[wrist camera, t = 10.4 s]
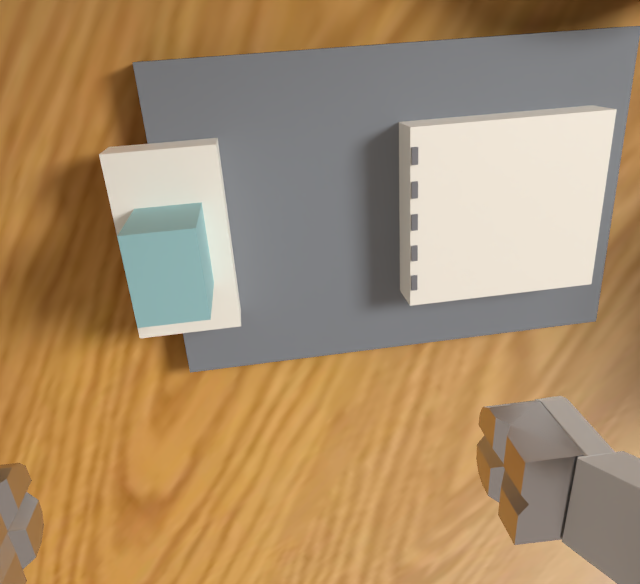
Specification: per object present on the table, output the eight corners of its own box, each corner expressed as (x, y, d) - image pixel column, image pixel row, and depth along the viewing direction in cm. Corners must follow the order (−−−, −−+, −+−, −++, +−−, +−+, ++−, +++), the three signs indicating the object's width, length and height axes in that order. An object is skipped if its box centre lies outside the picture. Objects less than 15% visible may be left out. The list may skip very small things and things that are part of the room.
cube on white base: (108, 147, 26) (74, 173, 21) (217, 137, 26) (212, 161, 21) (145, 320, 30) (125, 382, 24) (240, 309, 30) (241, 367, 25)
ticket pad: (398, 121, 27) (411, 127, 25) (592, 105, 28) (617, 109, 26) (400, 290, 31) (410, 306, 29) (571, 270, 32) (592, 285, 30)
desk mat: (137, 61, 26) (132, 62, 25) (621, 26, 28) (641, 25, 27) (192, 358, 33) (190, 372, 31) (582, 310, 35) (595, 321, 34)
